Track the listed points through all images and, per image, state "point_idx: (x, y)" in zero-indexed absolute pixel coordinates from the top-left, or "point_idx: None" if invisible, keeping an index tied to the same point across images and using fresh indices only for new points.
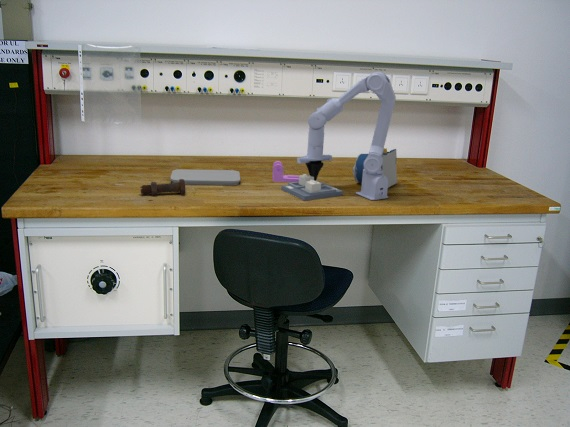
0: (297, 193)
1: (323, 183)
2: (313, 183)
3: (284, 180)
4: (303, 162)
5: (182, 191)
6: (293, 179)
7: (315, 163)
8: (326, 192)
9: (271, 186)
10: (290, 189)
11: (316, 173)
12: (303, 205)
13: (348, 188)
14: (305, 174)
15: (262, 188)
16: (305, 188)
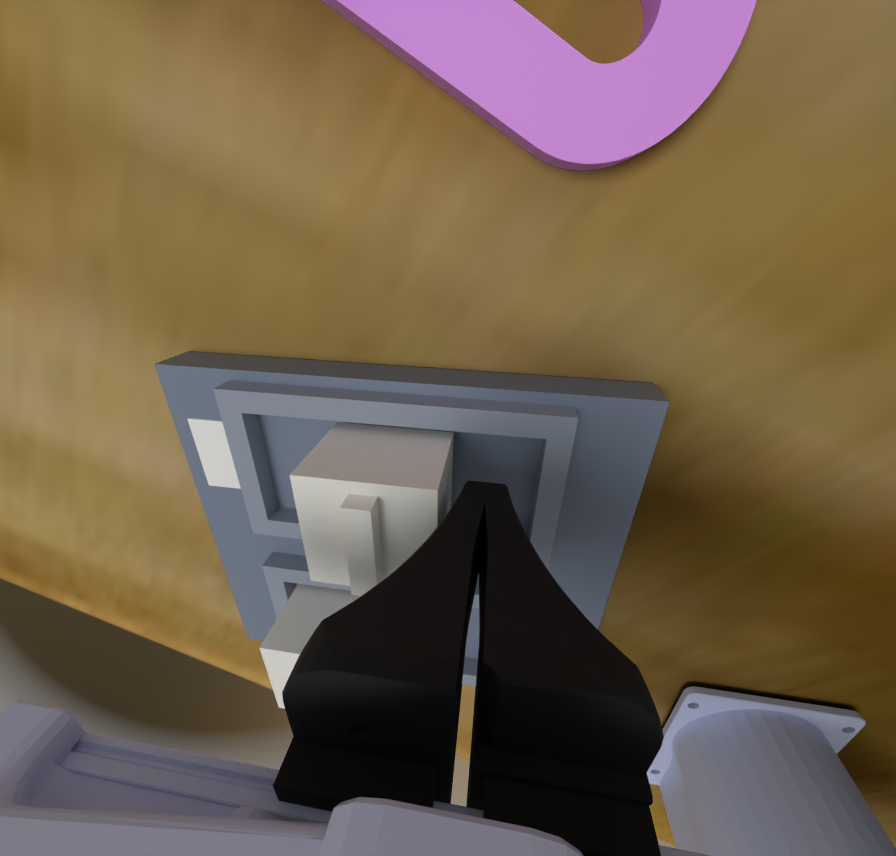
0: (230, 577)
1: (622, 501)
2: None
3: (337, 7)
4: (147, 774)
5: None
6: (456, 88)
7: (444, 801)
8: None
9: (114, 187)
10: (205, 496)
11: (480, 628)
12: (230, 648)
13: (798, 590)
14: (354, 539)
15: (10, 220)
16: (293, 596)
